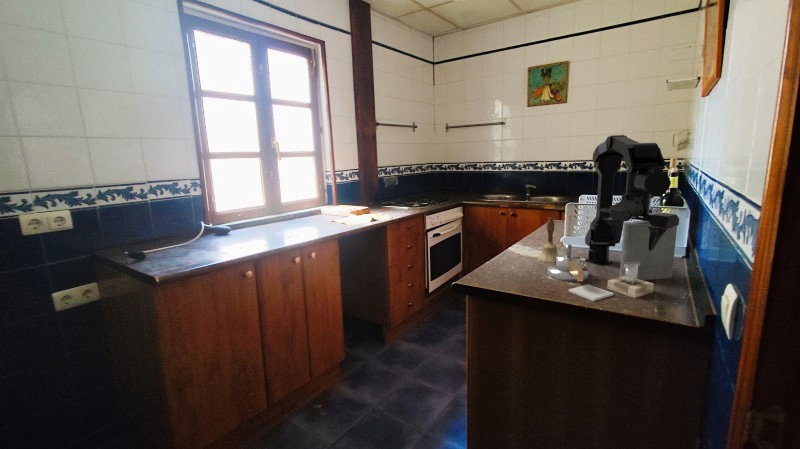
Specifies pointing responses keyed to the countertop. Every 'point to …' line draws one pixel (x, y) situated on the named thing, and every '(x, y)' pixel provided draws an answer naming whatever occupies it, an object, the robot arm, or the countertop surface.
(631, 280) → the shiny silver metal piece
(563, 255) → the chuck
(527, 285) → the countertop surface
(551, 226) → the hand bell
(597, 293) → the white square plate
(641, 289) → the socket
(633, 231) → the hip flask
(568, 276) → the base
